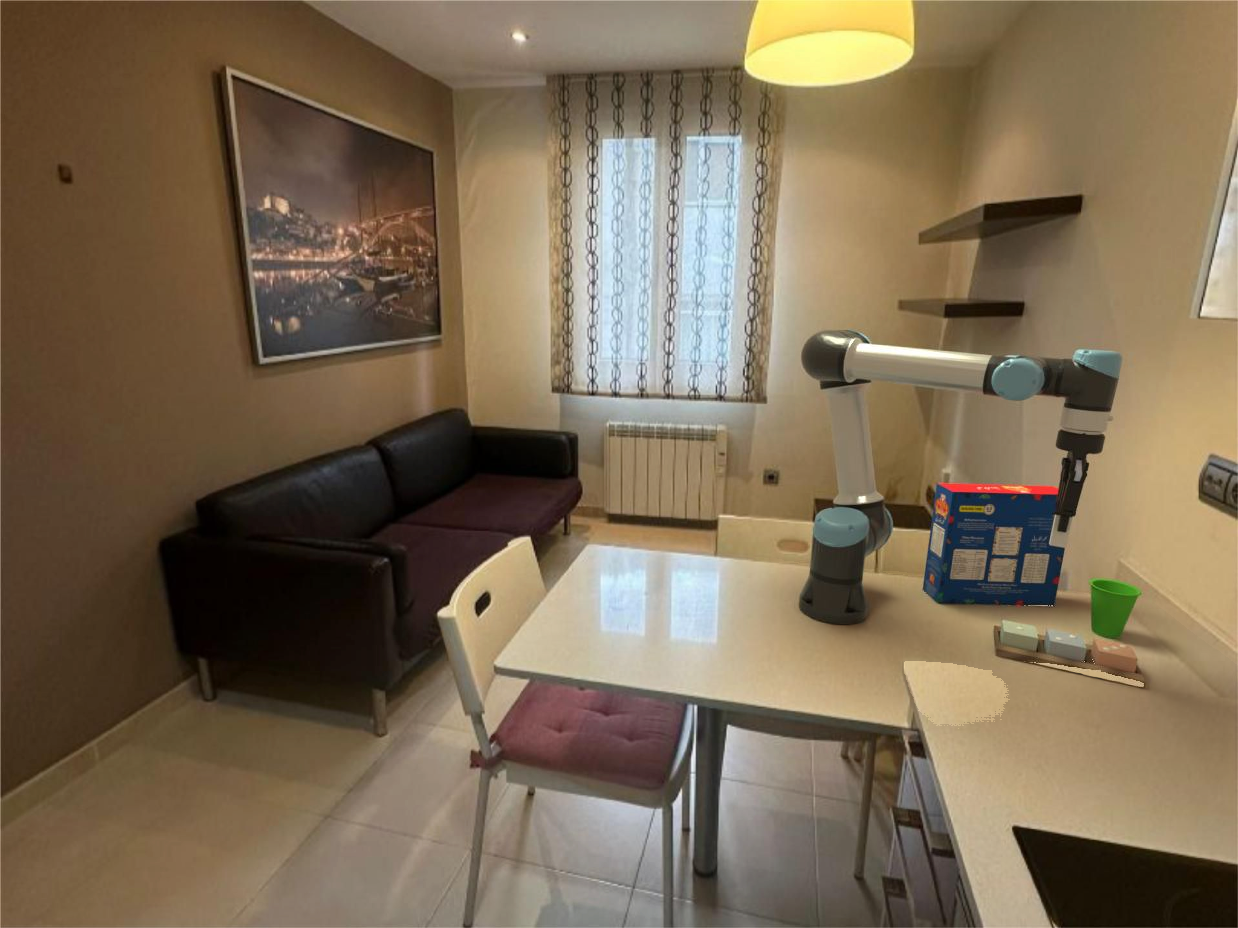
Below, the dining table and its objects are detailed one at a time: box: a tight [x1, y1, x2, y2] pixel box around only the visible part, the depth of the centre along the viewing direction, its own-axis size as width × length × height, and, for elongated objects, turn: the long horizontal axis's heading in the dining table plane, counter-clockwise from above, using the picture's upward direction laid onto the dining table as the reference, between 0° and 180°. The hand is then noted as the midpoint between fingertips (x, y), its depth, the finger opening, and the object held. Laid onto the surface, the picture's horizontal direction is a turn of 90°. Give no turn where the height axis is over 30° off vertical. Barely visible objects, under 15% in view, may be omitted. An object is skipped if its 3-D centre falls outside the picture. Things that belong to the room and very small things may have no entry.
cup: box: [1088, 578, 1142, 639], centre depth 140 cm, size 9×9×11 cm
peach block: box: [1090, 637, 1139, 673], centre depth 126 cm, size 6×6×4 cm
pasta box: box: [922, 482, 1066, 607], centre depth 155 cm, size 28×8×28 cm, turn 89°
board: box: [993, 624, 1146, 685], centre depth 129 cm, size 24×12×2 cm, turn 62°
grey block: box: [1044, 628, 1087, 662], centre depth 129 cm, size 6×6×4 cm
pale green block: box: [999, 619, 1038, 652], centre depth 133 cm, size 6×6×4 cm
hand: (1057, 545), depth 129 cm, fingers closed
